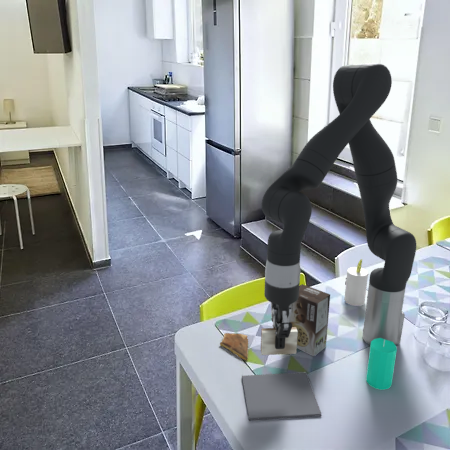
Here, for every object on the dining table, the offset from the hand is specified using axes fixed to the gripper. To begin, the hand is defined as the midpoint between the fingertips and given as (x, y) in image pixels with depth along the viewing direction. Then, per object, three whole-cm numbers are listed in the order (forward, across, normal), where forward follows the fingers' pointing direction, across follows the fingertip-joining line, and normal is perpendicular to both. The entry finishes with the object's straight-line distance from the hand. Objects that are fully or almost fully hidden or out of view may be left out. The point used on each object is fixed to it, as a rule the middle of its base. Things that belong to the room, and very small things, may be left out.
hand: (278, 345), depth 107 cm
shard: (+13, +17, +7) cm, 22 cm away
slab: (+2, 0, 0) cm, 2 cm away
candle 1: (+12, +38, -32) cm, 51 cm away
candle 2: (+12, 0, -25) cm, 28 cm away
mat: (+12, -3, 0) cm, 12 cm away
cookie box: (+12, +16, -11) cm, 23 cm away
